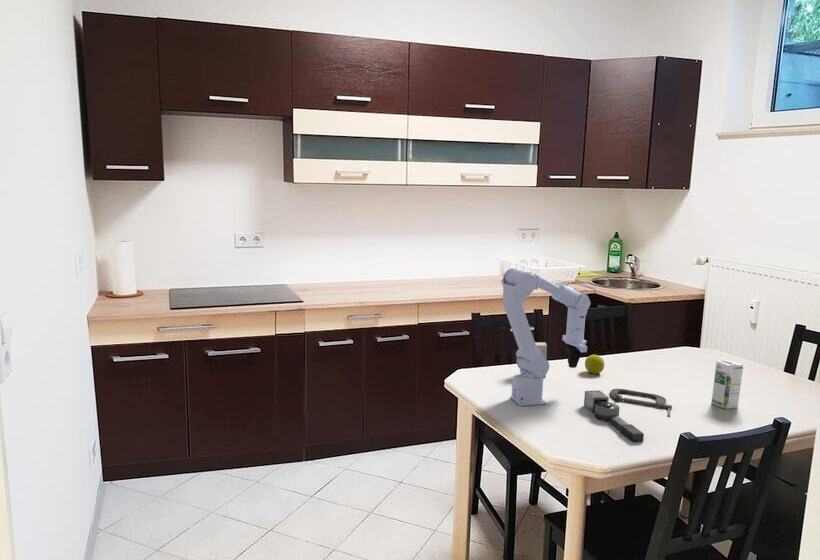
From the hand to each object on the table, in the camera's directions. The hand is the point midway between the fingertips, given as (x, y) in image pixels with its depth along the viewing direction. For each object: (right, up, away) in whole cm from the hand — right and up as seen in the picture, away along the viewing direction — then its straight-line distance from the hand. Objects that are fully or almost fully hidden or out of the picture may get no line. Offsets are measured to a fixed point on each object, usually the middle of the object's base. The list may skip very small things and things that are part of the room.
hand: (572, 367), depth 197 cm
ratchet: (+6, -13, -22) cm, 27 cm away
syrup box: (+48, -12, -6) cm, 50 cm away
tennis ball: (+15, -6, +24) cm, 29 cm away
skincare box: (-8, -6, +20) cm, 22 cm away
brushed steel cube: (+4, -12, -12) cm, 17 cm away
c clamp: (+21, -12, -4) cm, 24 cm away
